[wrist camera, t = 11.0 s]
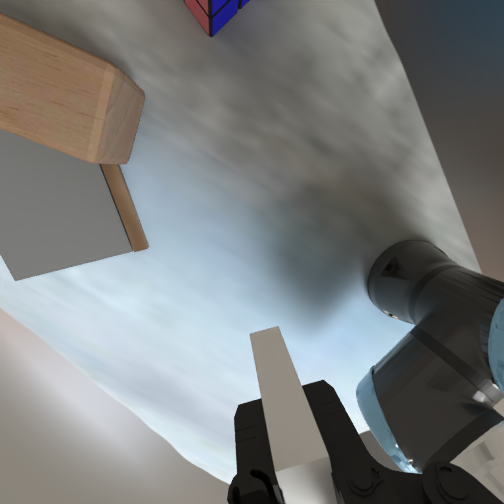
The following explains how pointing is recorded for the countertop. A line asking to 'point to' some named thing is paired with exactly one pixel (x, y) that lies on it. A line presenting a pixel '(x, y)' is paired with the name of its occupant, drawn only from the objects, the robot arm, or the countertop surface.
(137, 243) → the stop strip
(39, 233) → the grey flat rectangular panel
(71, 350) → the countertop surface
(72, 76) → the wooden block
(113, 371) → the countertop surface
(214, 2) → the puzzle cube
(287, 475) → the robot arm
